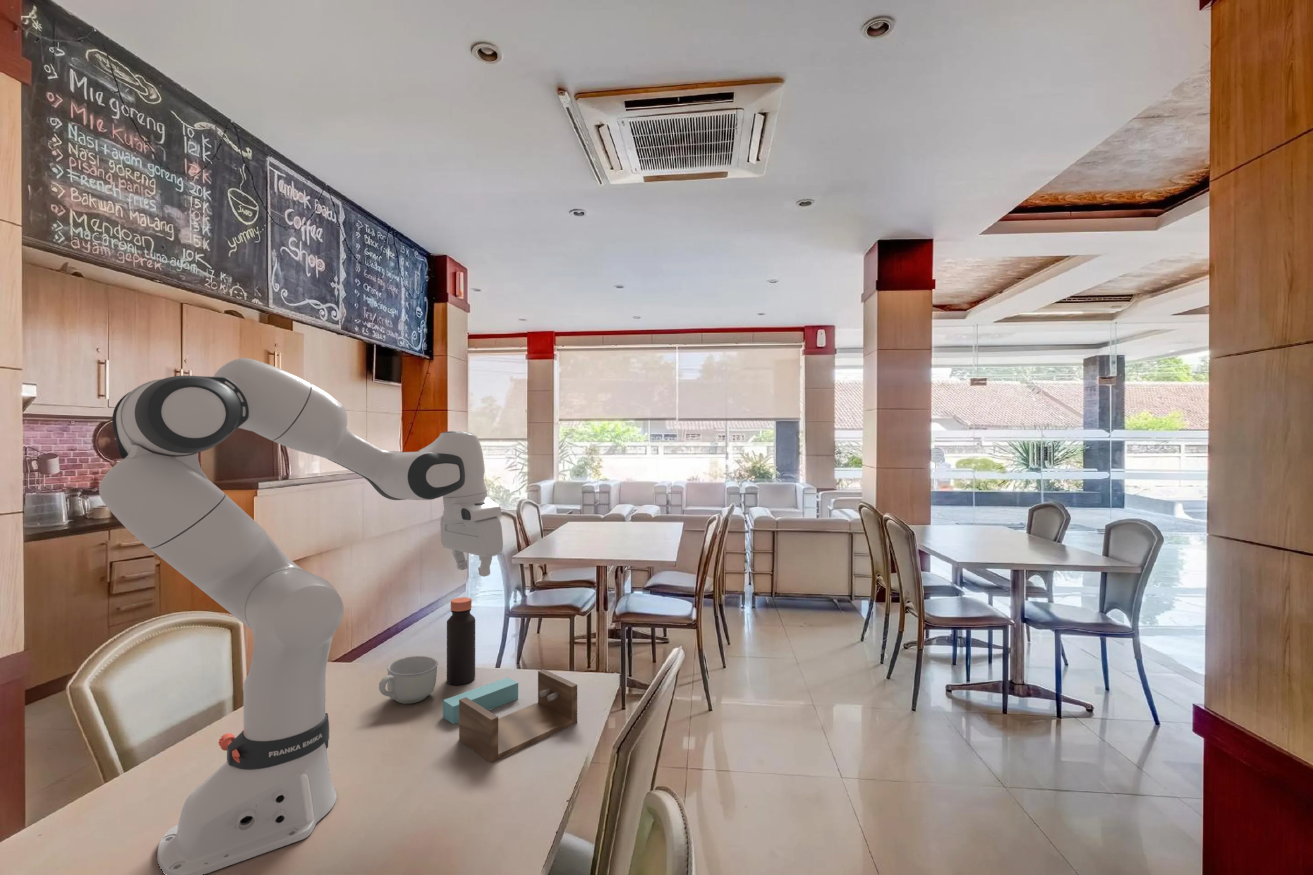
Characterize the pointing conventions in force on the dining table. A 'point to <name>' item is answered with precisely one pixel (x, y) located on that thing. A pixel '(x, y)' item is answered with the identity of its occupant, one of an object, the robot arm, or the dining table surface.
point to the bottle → (460, 643)
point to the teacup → (410, 679)
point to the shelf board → (482, 697)
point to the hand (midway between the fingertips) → (473, 572)
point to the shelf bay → (519, 719)
